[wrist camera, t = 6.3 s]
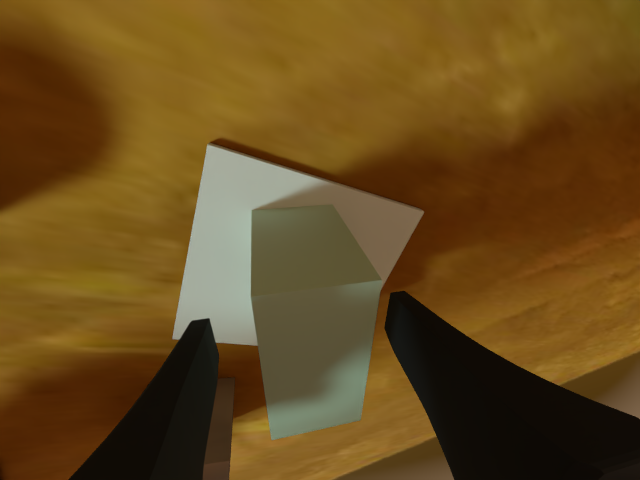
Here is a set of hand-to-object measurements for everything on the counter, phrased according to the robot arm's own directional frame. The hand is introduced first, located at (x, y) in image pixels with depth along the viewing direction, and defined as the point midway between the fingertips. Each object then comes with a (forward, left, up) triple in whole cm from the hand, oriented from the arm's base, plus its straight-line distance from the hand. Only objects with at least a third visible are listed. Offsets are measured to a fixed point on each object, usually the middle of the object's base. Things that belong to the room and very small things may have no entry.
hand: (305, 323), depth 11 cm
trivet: (0, 0, -3) cm, 3 cm away
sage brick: (0, 0, -3) cm, 3 cm away
